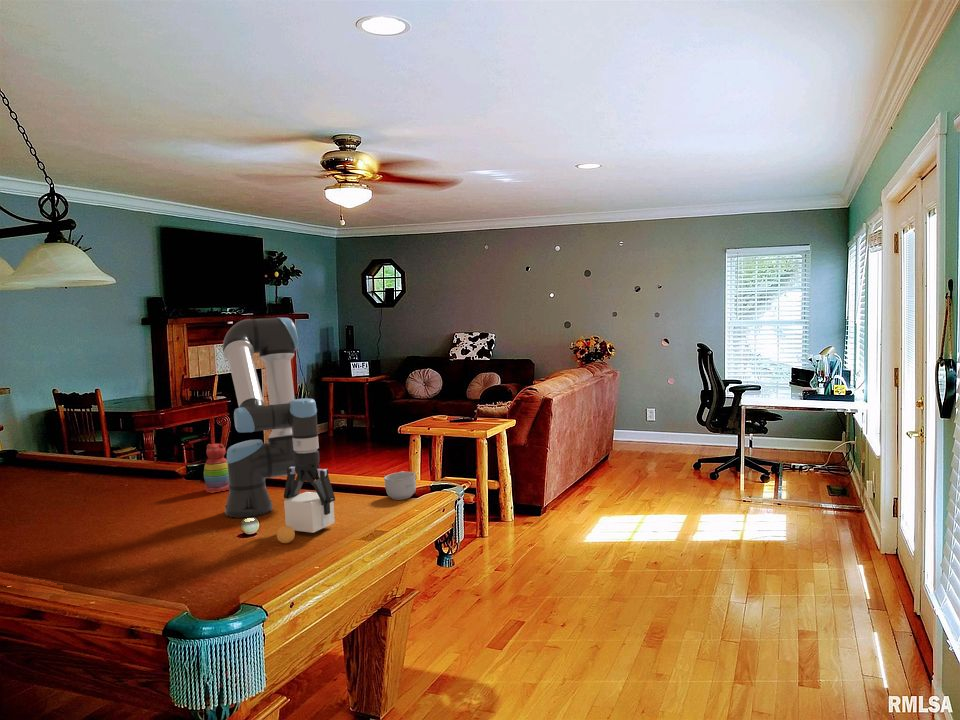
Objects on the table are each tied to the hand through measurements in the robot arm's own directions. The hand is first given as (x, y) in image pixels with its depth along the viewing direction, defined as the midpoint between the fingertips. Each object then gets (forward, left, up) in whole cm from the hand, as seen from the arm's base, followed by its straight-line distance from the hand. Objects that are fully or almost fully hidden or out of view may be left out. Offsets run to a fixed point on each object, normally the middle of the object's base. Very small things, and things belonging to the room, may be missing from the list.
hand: (310, 523), depth 222 cm
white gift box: (0, 0, -1) cm, 1 cm away
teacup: (+6, +42, -3) cm, 42 cm away
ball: (0, -12, 0) cm, 12 cm away
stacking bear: (-67, +29, -2) cm, 73 cm away
